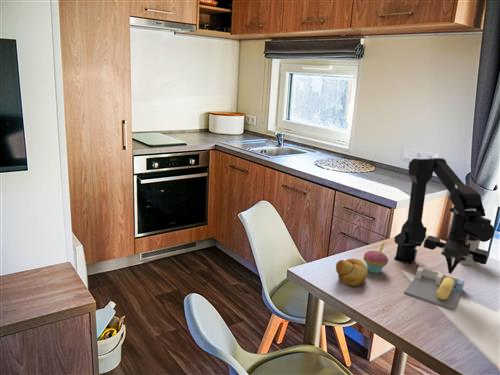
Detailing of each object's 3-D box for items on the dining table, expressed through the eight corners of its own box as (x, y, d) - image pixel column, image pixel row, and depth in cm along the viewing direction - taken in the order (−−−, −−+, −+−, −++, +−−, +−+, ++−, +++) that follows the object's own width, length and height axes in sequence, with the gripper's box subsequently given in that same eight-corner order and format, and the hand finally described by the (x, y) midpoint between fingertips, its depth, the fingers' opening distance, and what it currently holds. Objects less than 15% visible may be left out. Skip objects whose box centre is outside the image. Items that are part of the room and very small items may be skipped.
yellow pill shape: (446, 303, 133) (448, 293, 132) (434, 299, 135) (436, 289, 134) (454, 287, 144) (456, 277, 143) (443, 283, 146) (445, 274, 145)
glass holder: (479, 261, 168) (488, 226, 163) (465, 271, 158) (474, 233, 154) (456, 253, 174) (464, 219, 169) (442, 262, 164) (450, 226, 160)
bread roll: (346, 269, 152) (349, 248, 150) (372, 278, 147) (376, 257, 145) (331, 282, 142) (334, 260, 140) (358, 292, 137) (362, 269, 135)
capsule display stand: (404, 293, 138) (405, 283, 137) (417, 275, 152) (419, 265, 151) (453, 310, 130) (455, 300, 129) (462, 289, 144) (465, 280, 143)
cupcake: (390, 271, 153) (395, 240, 150) (379, 278, 147) (384, 246, 144) (368, 262, 159) (373, 232, 156) (357, 269, 153) (362, 238, 150)
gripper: (423, 227, 134) (414, 272, 138) (489, 245, 124) (477, 292, 128) (431, 219, 143) (423, 261, 147) (494, 234, 133) (482, 279, 137)
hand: (450, 273), depth 140 cm, fingers closed
